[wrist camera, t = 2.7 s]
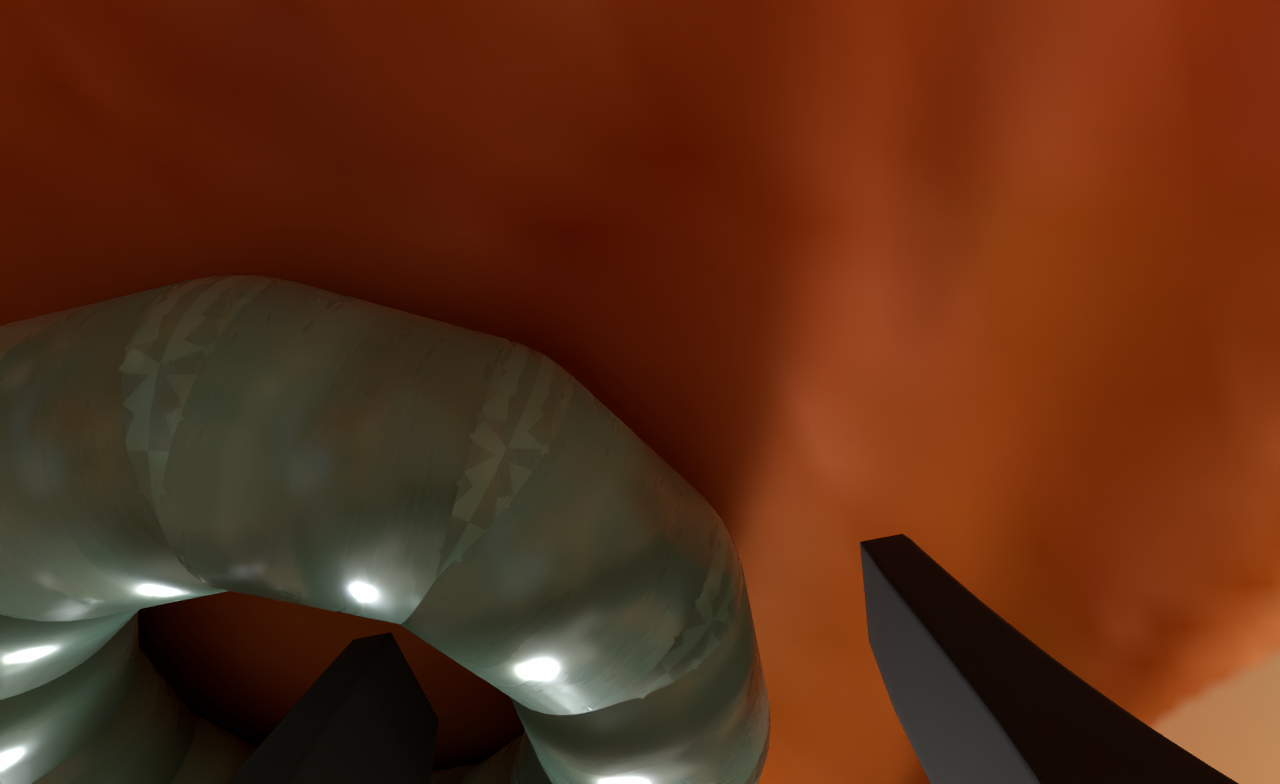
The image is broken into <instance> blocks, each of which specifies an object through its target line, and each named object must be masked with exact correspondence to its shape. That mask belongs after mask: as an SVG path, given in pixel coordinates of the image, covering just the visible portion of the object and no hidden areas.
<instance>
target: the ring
mask: <svg viewBox="0 0 1280 784" xmlns="http://www.w3.org/2000/svg"><path fill="white" fill-rule="evenodd" d="M226 591H233V592H238V593H243V594H248V595H253V596H258V597H264V598H269V599H274V600H279V601H284V602H289V603H294V604H299V605H304V606H310V607H315V608H320V609H325V610H330V611H335V612H340V613H345V614H351V615H356V616H361V617H366V618H371V619H376V620H381V621H386V622H391V623H397V624H399V625H401V626H402V627H404V628H405V629H407V630H408V631H410V632H412V633H413V634H415V635H416V636H418V637H419V638H421V639H422V640H424V641H425V642H427V643H428V644H430V645H431V646H433V647H435V648H436V649H438V650H439V651H441V652H442V653H444V654H445V655H447V656H448V657H450V658H451V659H453V660H454V661H456V662H457V663H459V664H461V665H462V666H464V667H465V668H467V669H468V670H470V671H471V672H473V673H474V674H476V675H477V676H479V677H480V678H482V679H483V680H485V681H487V682H488V683H490V684H491V685H493V686H494V687H496V688H497V689H499V690H500V691H502V692H503V693H505V694H506V695H508V696H509V697H510V698H511V700H512V703H513V705H514V707H515V709H516V711H517V713H518V716H519V718H520V720H521V722H522V724H523V726H524V729H525V731H524V734H523V735H521V736H520V737H519V738H517V739H516V740H514V741H513V742H511V743H510V744H508V745H507V746H505V747H504V748H502V749H501V750H500V751H498V752H497V753H495V754H494V755H492V756H491V757H489V758H488V759H486V760H485V761H483V762H482V763H479V764H473V765H468V766H462V767H456V768H451V769H445V770H439V771H433V772H431V777H430V784H758V781H759V778H760V776H761V773H762V770H763V767H764V764H765V761H766V758H767V752H768V747H769V737H770V722H771V720H770V712H769V701H768V695H767V689H766V684H765V679H764V674H763V669H762V664H761V659H760V654H759V649H758V644H757V639H756V634H755V629H754V624H753V619H752V614H751V609H750V604H749V599H748V594H747V589H746V584H745V579H744V574H743V569H742V565H741V562H740V558H739V554H738V552H737V549H736V546H735V544H734V541H733V539H732V537H731V535H730V532H729V530H728V529H727V527H726V526H725V524H724V522H723V520H722V519H721V518H720V516H719V515H718V514H717V512H716V511H715V510H714V509H713V507H712V506H711V505H710V503H709V502H708V501H707V500H706V499H705V498H704V497H703V496H702V495H701V494H700V493H699V492H698V491H697V490H696V489H694V488H693V487H692V486H691V485H690V484H689V483H688V482H687V481H686V480H685V479H684V478H683V477H681V476H680V475H679V474H678V473H677V472H676V471H675V470H674V469H673V468H672V467H671V466H670V465H668V464H667V463H666V462H665V461H664V460H663V459H662V458H661V457H660V456H659V455H658V454H657V453H655V452H654V451H653V450H652V449H651V448H650V447H649V446H648V445H647V444H646V443H645V442H644V441H642V440H641V439H640V438H639V437H638V436H637V435H636V434H635V433H634V432H633V431H632V430H631V429H629V428H628V427H627V426H626V425H625V424H624V423H623V422H622V421H621V420H620V419H619V418H618V417H616V416H615V415H614V414H613V413H612V412H611V411H610V410H609V409H608V408H607V407H606V406H605V405H603V404H602V403H601V402H600V401H599V400H598V399H597V398H596V397H595V396H594V395H593V394H592V393H590V392H589V391H588V390H587V389H586V388H585V387H584V386H583V385H582V384H581V383H580V382H579V381H577V380H576V379H575V378H574V377H573V376H572V375H571V374H570V373H569V372H567V371H566V370H565V369H564V368H562V367H561V366H560V365H559V364H557V363H556V362H554V361H553V360H551V359H550V358H549V357H547V356H546V355H543V354H541V353H540V352H538V351H536V350H534V349H532V348H529V347H527V346H525V345H522V344H519V343H516V342H513V341H511V340H508V339H504V338H500V337H497V336H493V335H489V334H486V333H482V332H478V331H475V330H471V329H467V328H464V327H460V326H456V325H452V324H449V323H445V322H441V321H438V320H434V319H430V318H427V317H423V316H419V315H416V314H412V313H408V312H404V311H401V310H397V309H393V308H390V307H386V306H382V305H379V304H375V303H371V302H368V301H364V300H360V299H356V298H353V297H349V296H345V295H342V294H338V293H334V292H331V291H327V290H323V289H320V288H316V287H312V286H308V285H305V284H301V283H297V282H294V281H289V280H283V279H279V278H276V277H266V276H251V275H222V276H210V277H205V278H199V279H194V280H188V281H183V282H179V283H175V284H171V285H167V286H163V287H158V288H154V289H150V290H146V291H142V292H137V293H133V294H129V295H125V296H121V297H117V298H112V299H108V300H104V301H100V302H96V303H91V304H87V305H83V306H79V307H75V308H71V309H66V310H62V311H58V312H54V313H50V314H46V315H41V316H37V317H33V318H29V319H25V320H20V321H16V322H12V323H8V324H4V325H0V784H226V783H227V782H228V781H229V780H230V779H231V778H232V777H233V776H234V775H235V773H236V772H237V771H238V770H239V769H240V768H241V767H242V766H243V764H244V763H245V762H246V761H247V760H248V759H249V758H250V756H251V755H252V754H253V753H254V752H255V751H256V750H257V748H258V747H256V746H254V745H252V744H250V743H248V742H246V741H244V740H242V739H241V738H239V737H237V736H235V735H233V734H231V733H229V732H227V731H225V730H223V729H221V728H220V727H218V726H216V725H214V724H212V723H210V722H208V721H206V720H204V719H202V718H200V717H199V716H197V715H195V714H193V713H191V711H190V710H189V709H188V708H187V706H186V705H185V704H184V703H183V701H182V700H181V699H180V698H179V696H178V695H177V694H176V693H175V691H174V690H173V689H172V688H171V686H170V685H169V684H168V683H167V681H166V680H165V679H164V678H163V676H162V675H161V674H160V673H159V671H158V670H157V669H156V668H155V666H154V665H153V664H152V663H151V661H150V660H149V659H148V658H147V656H146V655H145V654H144V653H143V651H142V650H141V649H140V648H139V628H138V611H139V610H140V609H142V608H147V607H151V606H156V605H161V604H166V603H171V602H176V601H181V600H186V599H191V598H196V597H201V596H206V595H211V594H216V593H221V592H226Z"/></svg>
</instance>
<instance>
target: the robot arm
mask: <svg viewBox="0 0 1280 784" xmlns="http://www.w3.org/2000/svg"><path fill="white" fill-rule="evenodd" d="M860 546H861V557H862V568H863V579H864V590H865V601H866V612H867V623H868V634H869V642H870V645H871V648H872V651H873V653H874V656H875V659H876V662H877V664H878V667H879V670H880V673H881V675H882V678H883V681H884V683H885V686H886V689H887V691H888V694H889V697H890V699H891V702H892V705H893V707H894V710H895V712H896V714H897V716H898V718H899V720H900V722H901V724H902V726H903V728H904V731H905V733H906V735H907V737H908V739H909V741H910V743H911V745H912V747H913V749H914V751H915V753H916V755H917V757H918V759H919V761H920V763H921V765H922V767H923V769H924V771H925V773H926V775H927V777H928V779H929V781H930V783H931V784H1238V783H1237V782H1235V781H1234V780H1232V779H1230V778H1229V777H1227V776H1225V775H1224V774H1222V773H1220V772H1219V771H1217V770H1216V769H1214V768H1212V767H1211V766H1209V765H1208V764H1206V763H1205V762H1203V761H1201V760H1200V759H1198V758H1197V757H1195V756H1193V755H1192V754H1191V753H1189V752H1187V751H1186V750H1184V749H1183V748H1181V747H1180V746H1178V745H1177V744H1175V743H1173V742H1172V741H1170V740H1169V739H1167V738H1166V737H1164V736H1163V735H1161V734H1160V733H1158V732H1157V731H1155V730H1154V729H1152V728H1151V727H1149V726H1148V725H1146V724H1145V723H1143V722H1142V721H1140V720H1139V719H1137V718H1136V717H1134V716H1133V715H1131V714H1130V713H1129V712H1127V711H1126V710H1124V709H1123V708H1121V707H1120V706H1118V705H1117V704H1116V703H1114V702H1113V701H1111V700H1110V699H1108V698H1107V697H1106V696H1104V695H1103V694H1101V693H1100V692H1099V691H1097V690H1096V689H1095V688H1093V687H1092V686H1090V685H1089V684H1088V683H1086V682H1085V681H1083V680H1082V679H1081V678H1079V677H1078V676H1076V675H1075V674H1074V673H1072V672H1071V671H1070V670H1068V669H1067V668H1066V667H1064V666H1063V665H1062V664H1060V663H1059V662H1058V661H1056V660H1055V659H1054V658H1052V657H1051V656H1050V655H1048V654H1047V653H1046V652H1044V651H1043V650H1042V649H1040V648H1039V647H1038V646H1037V645H1035V644H1034V643H1033V642H1032V641H1030V640H1029V639H1028V638H1026V637H1025V636H1024V635H1023V634H1021V633H1020V632H1019V631H1018V630H1016V629H1015V628H1014V627H1013V626H1011V625H1010V624H1009V623H1007V622H1006V621H1005V620H1004V619H1002V618H1001V617H1000V616H999V615H997V614H996V613H995V612H994V611H993V610H991V609H990V608H989V607H988V606H986V605H985V604H984V603H983V602H982V601H980V600H979V599H978V598H977V597H976V596H974V595H973V594H972V593H971V592H970V591H969V590H967V589H966V588H965V587H964V586H963V585H962V584H960V583H959V582H958V581H957V580H956V579H955V578H953V577H952V576H951V575H950V574H949V573H948V572H946V571H945V570H944V569H943V568H942V567H941V566H940V565H939V564H937V563H936V562H935V561H934V560H933V559H932V558H931V557H930V556H928V555H927V554H926V553H925V552H924V551H923V550H922V549H921V548H920V547H918V546H917V545H916V544H915V543H914V542H913V541H912V540H911V539H910V538H908V537H906V536H905V535H903V534H899V535H894V536H889V537H883V538H878V539H873V540H868V541H863V542H860ZM438 720H439V719H438V717H437V716H436V714H435V712H434V710H433V708H432V706H431V705H430V703H429V701H428V699H427V697H426V695H425V694H424V692H423V690H422V688H421V686H420V685H419V683H418V681H417V679H416V677H415V675H414V674H413V672H412V670H411V668H410V666H409V664H408V663H407V661H406V659H405V657H404V655H403V653H402V652H401V650H400V648H399V646H398V644H397V643H396V641H395V639H394V637H393V635H392V633H391V632H389V633H384V634H379V635H374V636H369V637H363V638H358V639H354V640H353V641H352V642H351V643H350V644H349V645H348V646H347V647H346V648H345V649H344V650H343V651H342V652H341V653H340V654H339V656H338V657H337V658H336V659H335V660H334V661H333V662H332V663H331V664H330V666H329V667H328V668H327V669H326V670H325V671H324V672H323V674H322V675H321V676H320V677H319V678H318V679H317V680H316V682H315V683H314V684H313V685H312V686H311V687H310V688H309V690H308V691H307V692H306V693H305V694H304V695H303V697H302V698H301V699H300V700H299V701H298V702H297V704H296V705H295V706H294V707H293V708H292V709H291V711H290V712H289V713H288V714H287V715H286V716H285V717H284V719H283V720H282V721H281V722H280V723H279V724H278V726H277V727H276V728H275V729H274V730H273V731H272V732H271V734H270V735H269V736H268V737H267V738H266V739H265V740H264V742H263V743H262V744H261V745H260V746H259V747H258V748H257V750H256V751H255V752H254V753H253V754H252V755H251V756H250V758H249V759H248V760H247V761H246V762H245V763H244V764H243V766H242V767H241V768H240V769H239V770H238V771H237V772H236V773H235V775H234V776H233V777H232V778H231V779H230V780H229V781H228V782H227V783H226V784H430V777H431V771H432V765H433V759H434V751H435V743H436V735H437V727H438Z"/></svg>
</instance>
